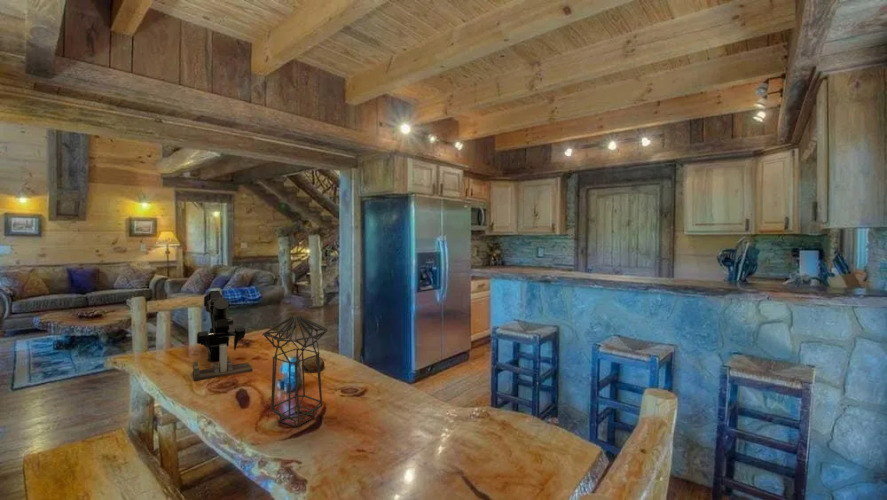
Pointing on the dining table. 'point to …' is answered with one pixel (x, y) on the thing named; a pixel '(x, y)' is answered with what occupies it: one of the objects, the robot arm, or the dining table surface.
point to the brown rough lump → (312, 364)
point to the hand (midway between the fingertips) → (223, 351)
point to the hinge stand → (216, 371)
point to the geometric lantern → (301, 323)
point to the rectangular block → (223, 358)
